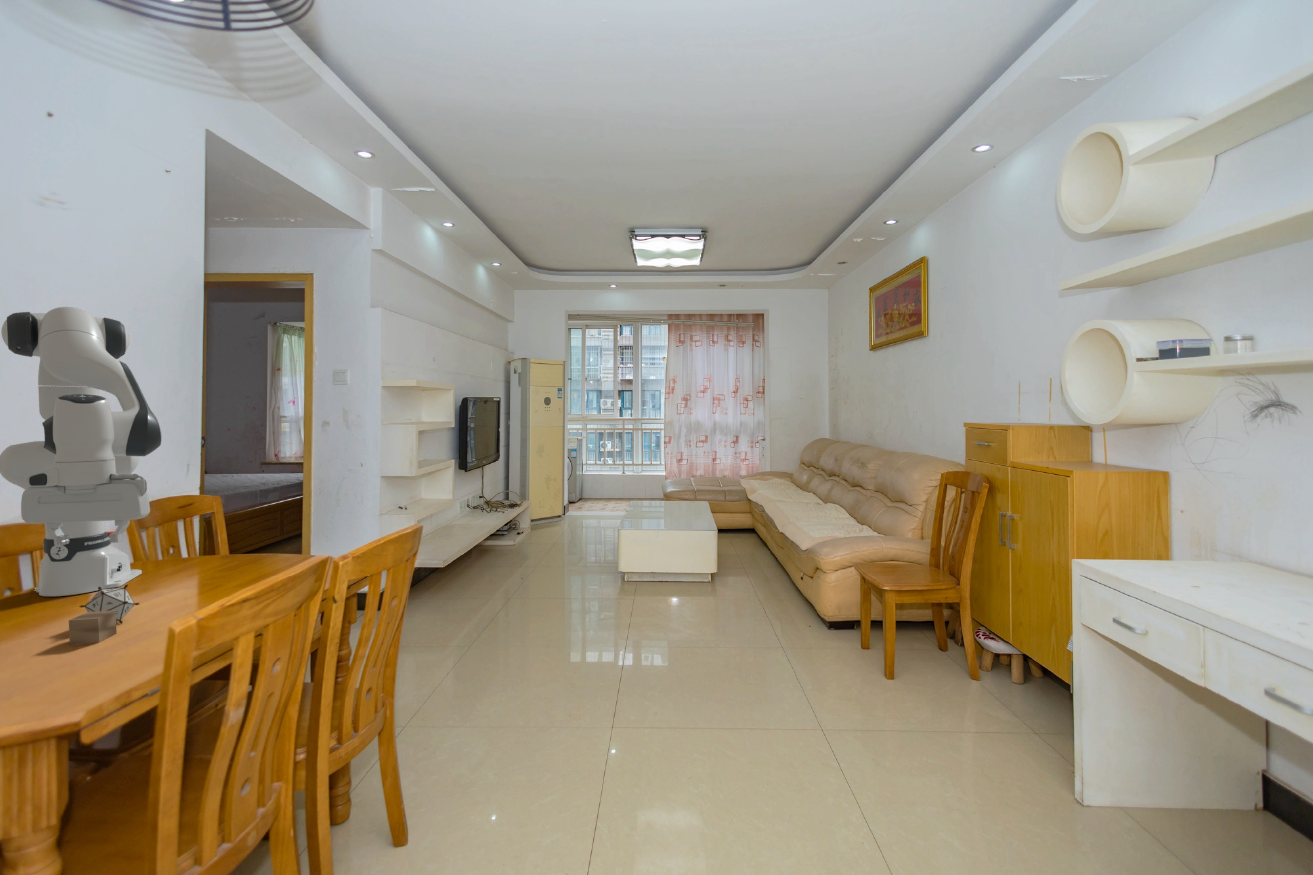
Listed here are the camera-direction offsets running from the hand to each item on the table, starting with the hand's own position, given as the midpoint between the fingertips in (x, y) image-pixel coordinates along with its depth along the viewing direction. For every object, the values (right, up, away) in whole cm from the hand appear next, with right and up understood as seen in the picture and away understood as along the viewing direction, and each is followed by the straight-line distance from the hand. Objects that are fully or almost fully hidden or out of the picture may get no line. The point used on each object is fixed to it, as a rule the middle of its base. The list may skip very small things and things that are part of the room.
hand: (89, 543), depth 119 cm
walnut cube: (0, -20, +1) cm, 20 cm away
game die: (-5, -20, +10) cm, 22 cm away
